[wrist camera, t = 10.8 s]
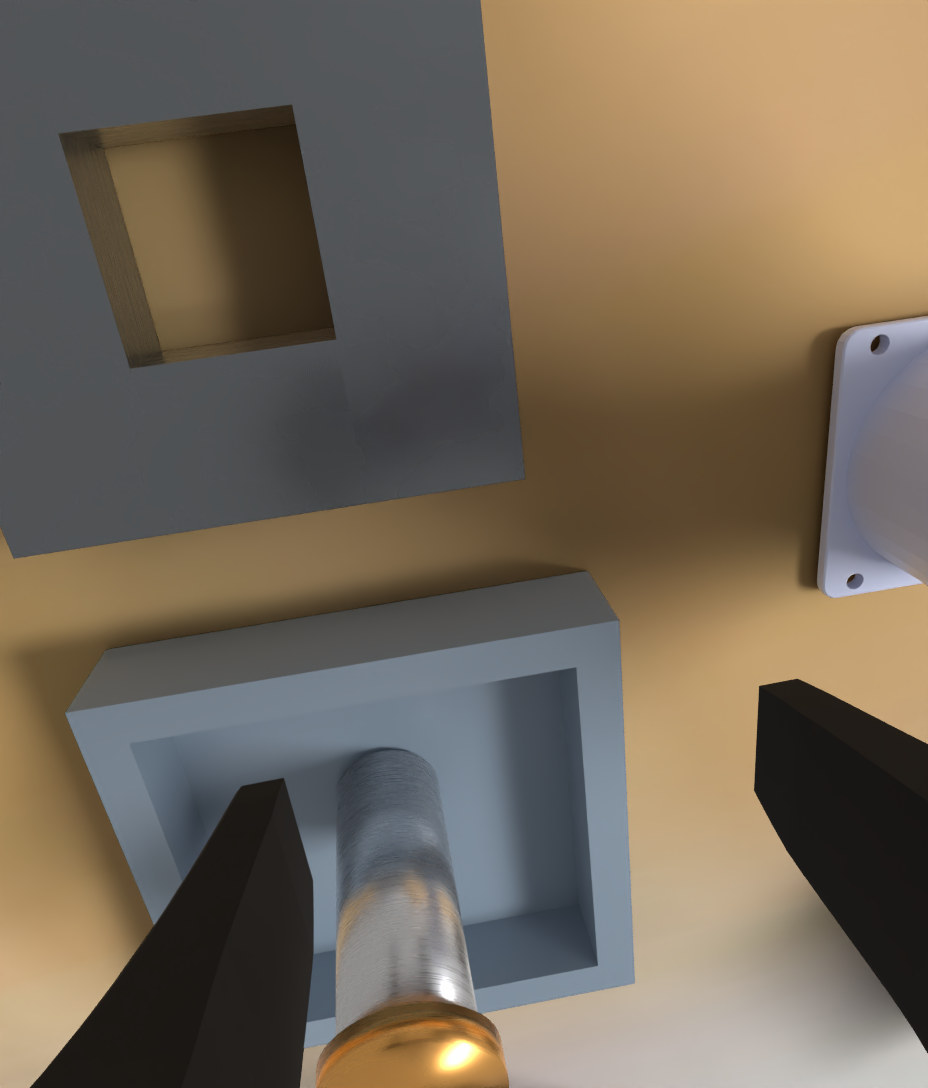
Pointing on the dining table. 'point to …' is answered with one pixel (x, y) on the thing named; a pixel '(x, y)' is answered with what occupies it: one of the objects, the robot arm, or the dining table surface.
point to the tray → (406, 725)
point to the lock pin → (401, 941)
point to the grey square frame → (269, 362)
